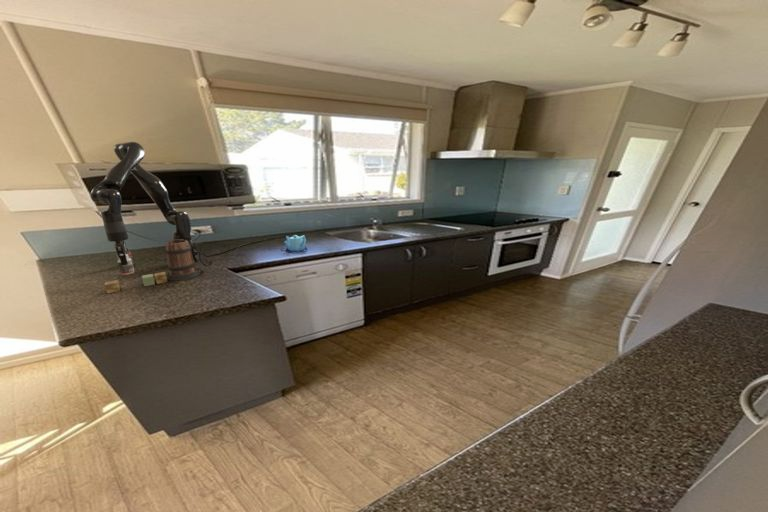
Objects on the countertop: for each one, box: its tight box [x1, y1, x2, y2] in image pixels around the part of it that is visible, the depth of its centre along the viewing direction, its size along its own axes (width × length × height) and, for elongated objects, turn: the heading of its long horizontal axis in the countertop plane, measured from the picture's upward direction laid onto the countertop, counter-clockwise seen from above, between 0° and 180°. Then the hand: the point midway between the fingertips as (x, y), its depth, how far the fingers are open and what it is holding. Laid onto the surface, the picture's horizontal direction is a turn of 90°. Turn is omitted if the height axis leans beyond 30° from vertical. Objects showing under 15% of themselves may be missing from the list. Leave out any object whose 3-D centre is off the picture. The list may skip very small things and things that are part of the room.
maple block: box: [154, 271, 168, 285], centre depth 155 cm, size 5×5×5 cm
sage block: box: [141, 273, 156, 287], centre depth 152 cm, size 5×5×5 cm
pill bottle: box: [116, 254, 135, 276], centre depth 144 cm, size 5×5×10 cm
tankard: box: [164, 239, 213, 281], centre depth 164 cm, size 24×17×20 cm
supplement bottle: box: [126, 247, 135, 266], centre depth 175 cm, size 6×6×11 cm
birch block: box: [104, 279, 121, 294], centre depth 143 cm, size 5×5×5 cm
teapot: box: [283, 234, 307, 252], centre depth 215 cm, size 15×15×11 cm
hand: (125, 263), depth 144 cm, fingers closed on pill bottle, 5 cm apart
